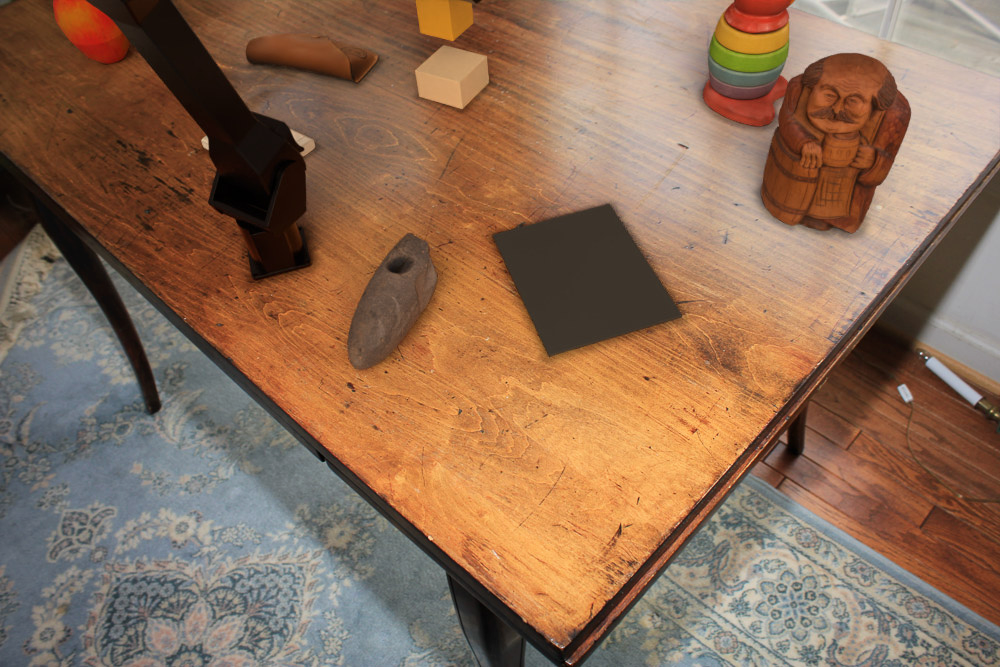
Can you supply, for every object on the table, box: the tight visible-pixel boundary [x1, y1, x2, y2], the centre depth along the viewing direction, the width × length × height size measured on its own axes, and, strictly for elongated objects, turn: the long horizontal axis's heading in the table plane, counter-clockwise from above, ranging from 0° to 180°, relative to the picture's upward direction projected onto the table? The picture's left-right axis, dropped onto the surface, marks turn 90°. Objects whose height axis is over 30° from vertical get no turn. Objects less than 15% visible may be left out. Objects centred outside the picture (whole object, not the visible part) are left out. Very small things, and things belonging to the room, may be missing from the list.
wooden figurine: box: [760, 52, 912, 234], centre depth 75 cm, size 12×6×18 cm, turn 67°
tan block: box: [414, 44, 490, 110], centre depth 100 cm, size 7×7×4 cm
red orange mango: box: [52, 0, 131, 65], centre depth 108 cm, size 9×9×12 cm
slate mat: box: [492, 203, 683, 358], centre depth 78 cm, size 18×14×1 cm
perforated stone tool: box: [346, 232, 439, 371], centre depth 72 cm, size 15×5×7 cm, turn 155°
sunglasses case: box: [245, 32, 380, 84], centre depth 107 cm, size 18×7×7 cm
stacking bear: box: [702, 0, 796, 127], centre depth 89 cm, size 11×10×18 cm
